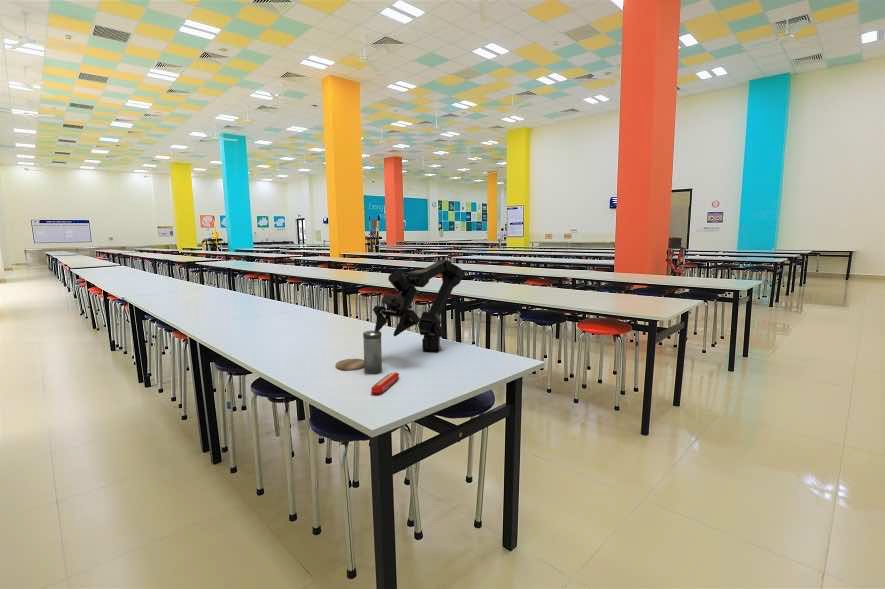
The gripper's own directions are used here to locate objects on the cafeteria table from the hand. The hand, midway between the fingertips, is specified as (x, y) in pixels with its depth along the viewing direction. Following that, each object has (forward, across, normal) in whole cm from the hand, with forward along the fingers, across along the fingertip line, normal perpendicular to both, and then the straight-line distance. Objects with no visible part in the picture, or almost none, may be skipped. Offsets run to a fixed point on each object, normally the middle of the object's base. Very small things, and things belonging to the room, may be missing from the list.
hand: (384, 333), depth 152 cm
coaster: (+13, -11, +4) cm, 18 cm away
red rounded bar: (+19, +14, -1) cm, 23 cm away
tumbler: (+13, 0, +4) cm, 14 cm away
